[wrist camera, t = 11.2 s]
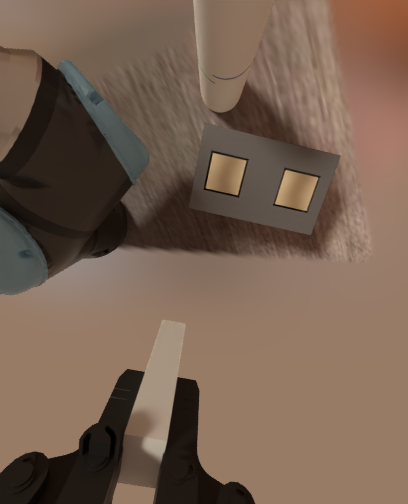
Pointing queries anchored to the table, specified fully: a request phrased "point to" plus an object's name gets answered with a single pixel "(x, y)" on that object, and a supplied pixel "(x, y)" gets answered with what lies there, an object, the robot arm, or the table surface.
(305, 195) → the peg
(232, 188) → the peg
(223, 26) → the cylindrical container
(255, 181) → the plinth
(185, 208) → the table surface
